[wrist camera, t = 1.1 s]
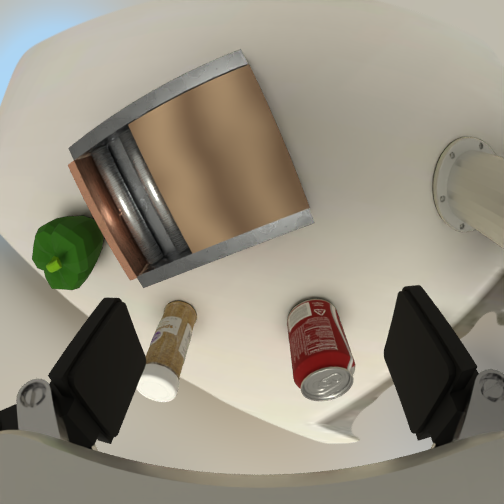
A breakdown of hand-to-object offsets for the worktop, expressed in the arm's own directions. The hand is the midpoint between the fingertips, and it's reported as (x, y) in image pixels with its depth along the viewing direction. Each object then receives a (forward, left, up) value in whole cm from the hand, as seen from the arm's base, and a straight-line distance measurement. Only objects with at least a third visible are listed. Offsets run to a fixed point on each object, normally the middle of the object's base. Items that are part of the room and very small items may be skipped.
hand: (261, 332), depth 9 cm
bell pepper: (+23, -3, -24) cm, 33 cm away
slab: (+2, -4, -20) cm, 21 cm away
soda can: (0, +19, -23) cm, 30 cm away
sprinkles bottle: (+16, +12, -23) cm, 31 cm away
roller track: (+6, -4, -23) cm, 24 cm away
